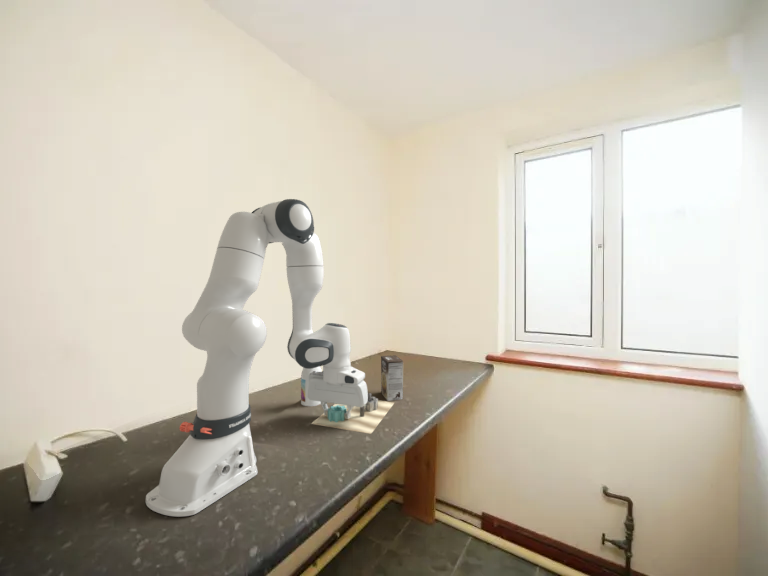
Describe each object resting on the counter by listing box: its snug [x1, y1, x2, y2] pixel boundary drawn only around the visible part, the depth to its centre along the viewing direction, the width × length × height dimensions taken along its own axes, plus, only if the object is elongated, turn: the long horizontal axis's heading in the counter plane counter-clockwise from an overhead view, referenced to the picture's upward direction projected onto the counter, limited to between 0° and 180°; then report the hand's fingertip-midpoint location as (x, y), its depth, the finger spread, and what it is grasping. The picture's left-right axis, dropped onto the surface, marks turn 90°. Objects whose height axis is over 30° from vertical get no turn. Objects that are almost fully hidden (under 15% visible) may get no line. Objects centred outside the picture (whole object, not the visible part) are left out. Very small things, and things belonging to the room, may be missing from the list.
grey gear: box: [364, 396, 379, 412], centre depth 104 cm, size 6×6×3 cm
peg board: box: [310, 392, 395, 435], centre depth 101 cm, size 24×20×6 cm
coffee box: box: [380, 355, 404, 402], centre depth 116 cm, size 9×6×16 cm
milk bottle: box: [300, 366, 323, 407], centre depth 110 cm, size 8×8×20 cm
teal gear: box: [328, 405, 346, 422], centre depth 97 cm, size 6×6×3 cm
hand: (337, 416), depth 97 cm, fingers closed on teal gear, 6 cm apart
